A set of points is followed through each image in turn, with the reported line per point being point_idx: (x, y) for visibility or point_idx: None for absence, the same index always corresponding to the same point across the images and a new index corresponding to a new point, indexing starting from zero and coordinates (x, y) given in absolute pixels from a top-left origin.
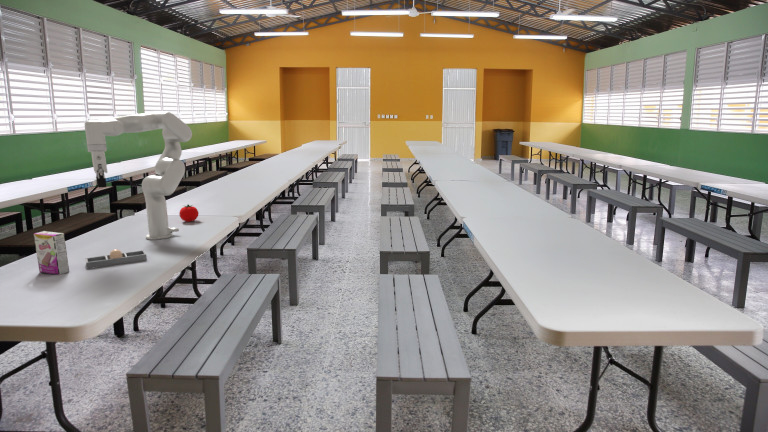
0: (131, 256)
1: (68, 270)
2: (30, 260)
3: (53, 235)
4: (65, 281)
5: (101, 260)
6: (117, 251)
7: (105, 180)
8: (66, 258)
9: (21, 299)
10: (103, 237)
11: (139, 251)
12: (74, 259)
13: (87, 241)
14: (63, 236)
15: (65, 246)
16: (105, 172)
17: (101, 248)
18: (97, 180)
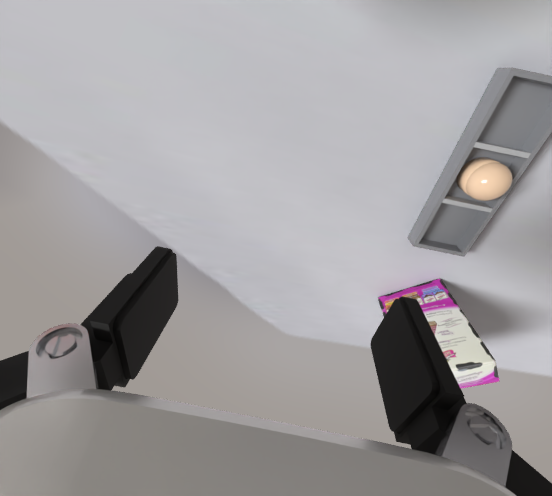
0: (545, 140)
1: (442, 282)
2: (265, 302)
3: (493, 380)
4: (508, 299)
5: (484, 224)
6: (511, 183)
7: (445, 363)
8: (457, 304)
9: (532, 359)
10: (91, 106)
11: (505, 88)
12: (332, 244)
13: (132, 166)
14: (491, 355)
15: (472, 327)
16: (291, 438)
17: (259, 159)
18: (157, 335)
